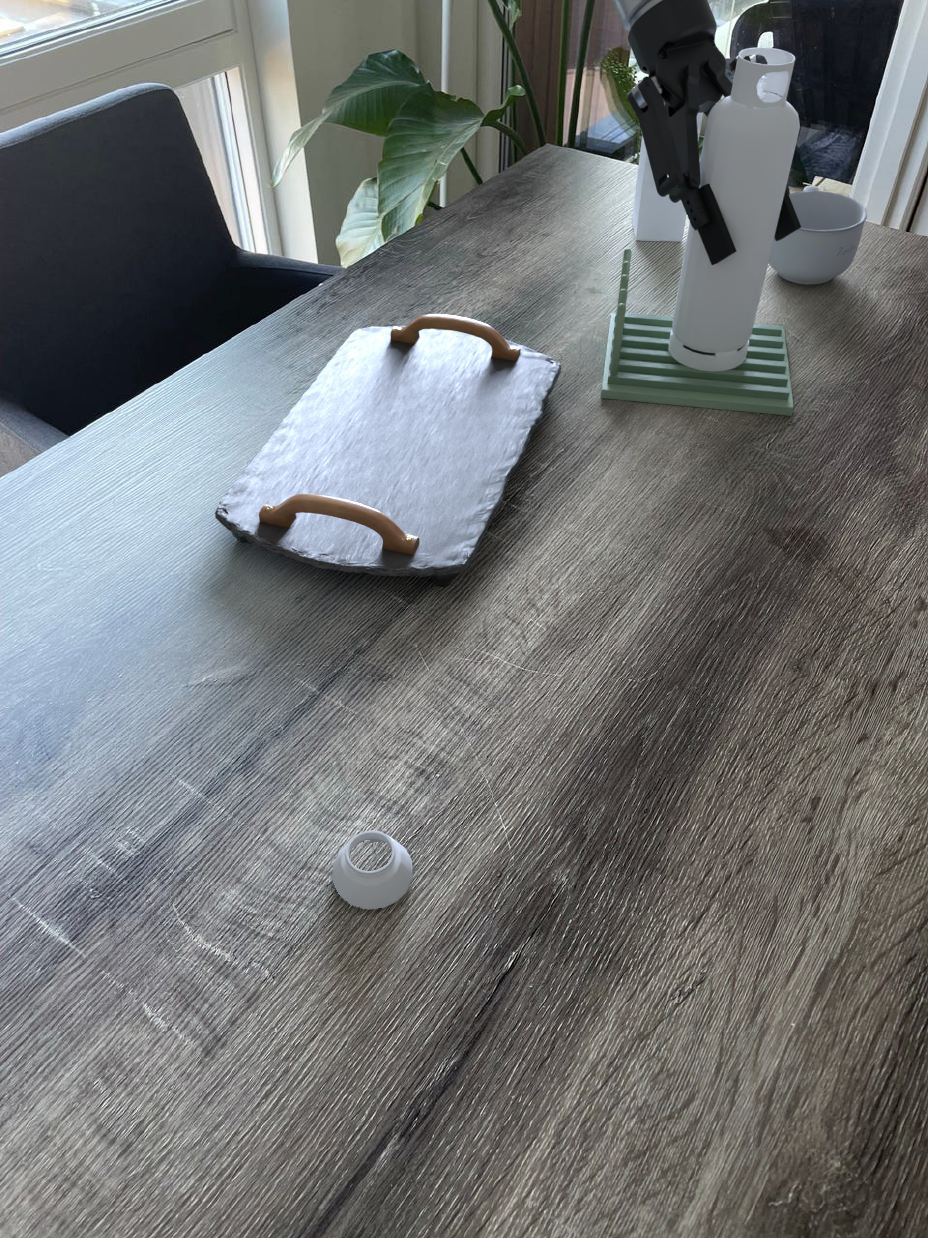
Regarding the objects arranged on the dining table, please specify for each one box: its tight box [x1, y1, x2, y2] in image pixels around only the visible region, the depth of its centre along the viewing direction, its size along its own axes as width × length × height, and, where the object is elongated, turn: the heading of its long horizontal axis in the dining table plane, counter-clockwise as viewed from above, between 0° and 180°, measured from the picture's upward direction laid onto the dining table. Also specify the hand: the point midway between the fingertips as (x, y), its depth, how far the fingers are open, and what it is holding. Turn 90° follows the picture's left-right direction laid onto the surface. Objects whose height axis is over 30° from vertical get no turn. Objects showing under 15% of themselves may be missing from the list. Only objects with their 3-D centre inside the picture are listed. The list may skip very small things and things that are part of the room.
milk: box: [631, 103, 704, 243], centre depth 121 cm, size 6×6×22 cm
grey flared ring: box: [331, 829, 414, 910], centre depth 62 cm, size 5×3×5 cm
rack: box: [600, 247, 795, 417], centre depth 103 cm, size 19×16×9 cm
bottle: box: [668, 46, 801, 371], centre depth 95 cm, size 8×8×28 cm
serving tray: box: [214, 313, 562, 588], centre depth 92 cm, size 39×23×6 cm, turn 162°
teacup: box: [768, 185, 868, 286], centre depth 119 cm, size 14×11×8 cm
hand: (756, 245), depth 94 cm, fingers closed on bottle, 8 cm apart
